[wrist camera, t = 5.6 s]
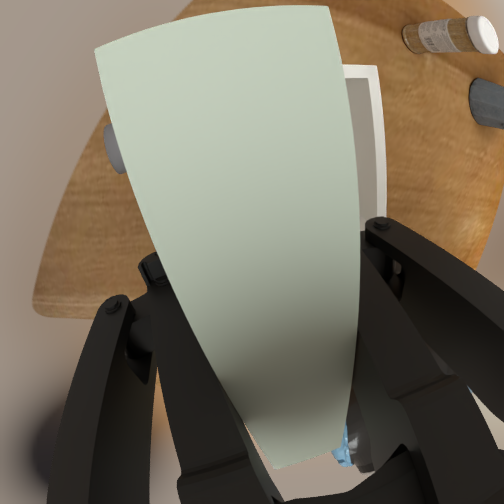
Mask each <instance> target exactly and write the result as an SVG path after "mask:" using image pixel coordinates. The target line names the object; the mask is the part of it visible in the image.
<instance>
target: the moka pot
mask: <svg viewBox="0 0 504 504" xmlns="http://www.w3.org/2000/svg"><path fill="white" fill-rule="evenodd" d="M469 103H470V109H471V112H472V115H473V117H474V119H475V120H476V122H477V123H478V124H480V125H485V126H490V127H495V128H500V129H504V87H502V86H500V85H497V84H495V83H492V82H489V81H486V80H483V79H481V78H477V79H476V80H475V81H474V82H473V83H472V85H471V89H470V95H469Z"/></svg>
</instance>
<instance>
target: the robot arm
mask: <svg viewBox="0 0 504 504" xmlns="http://www.w3.org/2000/svg"><path fill="white" fill-rule="evenodd" d="M138 269H139V271H140V273H141V275H142V277H143V279H144V281H145V283H146V285H147V291H148V292H146V293H145V294H144V295H142V296H140V297H139V298H137V299H135V300H133V301H131V302H130V300H129V298H128V297H127V296H126V295H123V294H122V295H116V296H112V297H110V298H109V299H107V300H105V302H104V303H103V304H102V305H101V306H100V308H99V309H98V311H97V314H96V316H95V319H94V321H93V324H92V326H91V329H90V331H89V334H88V337H87V339H86V342H85V345H84V348H83V350H82V353H81V356H80V359H79V362H78V365H77V368H76V371H75V374H74V377H73V380H72V383H71V387H70V390H69V394H68V397H67V400H66V404H65V408H64V411H63V415H62V419H61V423H60V427H59V432H58V436H57V441H56V445H55V450H54V455H53V461H52V466H51V473H50V479H49V487H48V495H47V504H149V477H150V474H149V472H150V445H151V429H152V415H153V403H154V392H155V382H156V373H157V367H158V373H159V378H160V383H161V389H162V393H163V398H164V403H165V408H166V412H167V417H168V421H169V425H170V429H171V433H172V437H173V441H174V445H175V449H176V452H177V456H178V459H179V463H180V467H181V476H180V477H179V478H178V480H177V490H178V495H179V499H180V502H181V504H504V450H500V449H498V447H497V445H496V443H495V440H494V438H493V436H492V434H491V431H490V429H489V428H488V425H487V423H486V421H485V419H484V417H483V415H482V413H481V411H480V409H479V407H478V405H477V403H476V401H475V399H474V398H473V396H472V394H471V393H472V392H473V393H474V394H475V395H476V396H477V397H478V398H479V399H480V400H481V402H482V403H483V404H484V405H485V406H486V407H487V408H488V409H489V410H490V411H491V412H492V413H493V414H494V415H495V416H496V417H498V418H499V419H500V420H501V421H503V422H504V291H503V290H501V289H500V288H499V287H497V286H496V285H495V284H493V283H492V282H491V281H489V280H488V279H487V278H485V277H484V276H482V275H481V274H479V273H478V272H477V271H475V270H474V269H472V268H471V267H469V266H468V265H466V264H465V263H464V262H462V261H461V260H459V259H458V258H456V257H454V256H453V255H451V254H450V253H448V252H447V251H445V250H444V249H442V248H440V247H439V246H437V245H436V244H434V243H432V242H431V241H429V240H428V239H426V238H424V237H423V236H421V235H419V234H418V233H416V232H414V231H413V230H411V229H409V228H407V227H406V226H404V225H402V224H400V223H399V222H397V221H395V220H393V219H391V218H387V217H383V216H380V217H375V218H371V219H369V220H367V221H366V223H365V231H360V290H359V311H358V326H357V338H356V349H355V359H354V368H353V376H352V384H351V391H350V398H349V404H348V410H347V416H346V422H345V427H344V432H343V438H342V442H341V447H340V448H337V449H335V450H332V451H331V452H332V454H333V456H334V457H335V459H337V461H338V462H339V464H340V465H341V466H343V467H347V466H352V465H354V464H355V465H356V466H357V468H358V469H359V471H360V473H361V474H363V475H369V477H368V478H367V479H365V480H364V481H363V482H361V483H360V484H359V485H357V486H356V487H355V488H353V489H352V490H350V491H348V492H344V493H339V494H333V495H326V496H318V497H310V498H299V499H293V500H290V501H286V502H284V500H283V498H282V496H281V494H280V493H279V491H278V489H277V488H276V486H275V485H274V483H273V481H272V480H271V478H270V476H269V474H268V472H267V470H266V468H265V466H264V464H263V462H262V460H261V458H260V456H259V454H258V452H257V450H256V448H255V446H254V444H253V442H252V440H251V438H250V435H249V433H248V431H247V429H246V427H245V425H244V423H243V420H242V419H241V417H240V415H239V414H238V412H237V410H236V409H235V407H234V405H233V404H232V402H231V400H230V398H229V397H228V395H227V393H226V392H225V390H224V388H223V386H222V384H221V383H220V381H219V379H218V377H217V376H216V374H215V372H214V370H213V368H212V366H211V365H210V363H209V361H208V359H207V357H206V355H205V353H204V351H203V349H202V348H201V346H200V344H199V342H198V340H197V338H196V336H195V334H194V332H193V330H192V328H191V326H190V324H189V322H188V320H187V318H186V316H185V314H184V311H183V309H182V307H181V305H180V303H179V301H178V299H177V297H176V294H175V292H174V290H173V288H172V286H171V283H170V281H169V279H168V277H167V274H166V272H165V270H164V268H163V265H162V263H161V261H160V258H159V256H158V253H157V252H154V253H152V254H150V255H148V256H146V257H145V258H144V259H142V261H141V262H140V263H139V265H138Z"/></svg>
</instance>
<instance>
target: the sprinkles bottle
mask: <svg viewBox="0 0 504 504" xmlns="http://www.w3.org/2000/svg"><path fill="white" fill-rule="evenodd" d="M402 34H403V39H404V42H405V44H406V45H407V46H408V48H409V49H410V50H411V51H412V52H414V53H417V54H421V53H424V52H480V53H483V54H496V53H497V52H498V48H499V45H498V44H499V43H498V38H497V34H496V32H495V30H494V28H493V26H492V24H491V23H490V22H489V20H488V19H486V18H485V17H483V16H470V17H467V18H459V19H445V20H437V21H430V22H423V23H420V24H414V25H407V26H405V27H404V28H403V32H402Z"/></svg>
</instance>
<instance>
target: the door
mask: <svg viewBox="0 0 504 504" xmlns="http://www.w3.org/2000/svg"><path fill="white" fill-rule="evenodd" d="M94 51H95V56H96V61H97V65H98V70H99V75H100V79H101V83H102V88H103V92H104V96H105V100H106V103H107V107H108V111H109V115H110V118H111V122H112V123H111V124H109V125H106V126H105V128H104V142H105V147H106V151H107V154H108V157H109V160H110V162H111V164H112V166H113V168H114V169H115V171H116V172H117V173H119V174H123V173H125V172H127V174H128V177H129V180H130V183H131V185H132V188H133V191H134V194H135V197H136V200H137V202H138V205H139V208H140V210H141V213H142V216H143V218H144V221H145V224H146V226H147V229H148V231H149V234H150V236H151V239H152V241H153V244H154V246H155V249H156V251H157V253H158V256H159V258H160V261H161V263H162V265H163V268H164V270H165V272H166V274H167V277H168V279H169V281H170V283H171V286H172V288H173V290H174V292H175V294H176V297H177V299H178V301H179V303H180V305H181V307H182V309H183V311H184V314H185V316H186V318H187V320H188V322H189V324H190V326H191V328H192V330H193V332H194V334H195V336H196V338H197V340H198V342H199V344H200V346H201V348H202V349H203V351H204V353H205V355H206V357H207V359H208V361H209V363H210V365H211V366H212V368H213V370H214V372H215V374H216V376H217V377H218V379H219V381H220V383H221V384H222V386H223V388H224V390H225V392H226V393H227V395H228V397H229V398H230V400H231V402H232V404H233V405H234V407H235V409H236V410H237V412H238V414H239V415H240V417H241V419H242V420H243V422H244V423H245V425H246V426H247V428H248V430H249V431H250V433H251V434H252V436H253V437H254V439H255V441H256V442H257V444H258V445H259V447H260V448H261V450H262V451H263V453H264V454H265V456H266V457H267V459H268V460H269V462H270V463H271V465H272V466H273V468H274V469H279V468H283V467H286V466H290V465H292V464H296V463H299V462H302V461H305V460H308V459H311V458H314V457H316V456H319V455H322V454H325V453H327V452H330V451H332V450H335V449H337V448H340V447H341V442H342V438H343V432H344V427H345V422H346V416H347V410H348V404H349V398H350V391H351V384H352V376H353V368H354V359H355V349H356V338H357V326H358V311H359V290H360V214H359V193H358V178H357V165H356V154H355V145H354V136H353V128H352V120H351V113H350V106H349V100H348V93H347V87H346V82H345V76H344V71H343V66H342V61H341V56H340V52H339V47H338V43H337V39H336V35H335V30H334V27H333V23H332V19H331V15H330V12H329V8H328V6H308V5H291V6H267V7H254V8H244V9H236V10H229V11H222V12H216V13H210V14H205V15H200V16H195V17H190V18H186V19H182V20H178V21H174V22H170V23H166V24H163V25H159V26H156V27H153V28H149V29H146V30H143V31H140V32H137V33H134V34H131V35H128V36H126V37H123V38H121V39H118V40H115V41H113V42H110V43H108V44H105V45H103V46H101V47H98V48H96V49H94Z"/></svg>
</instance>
